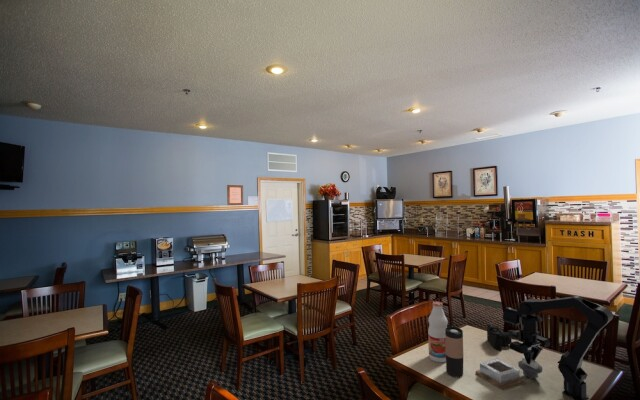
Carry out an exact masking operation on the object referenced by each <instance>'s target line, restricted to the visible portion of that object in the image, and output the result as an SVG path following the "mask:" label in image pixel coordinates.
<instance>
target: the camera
mask: <svg viewBox="0 0 640 400" xmlns="http://www.w3.org/2000/svg"><path fill="white" fill-rule="evenodd" d="M486 327H487V330H486V340H487V342H488V343H489V344H490V346H491V348H493V349H494V350H495V351H498V352H502V350H503V349H502V346H503V345H505V346H509V344H510V343H511V342H513V341H512V340H513V339H512V338H510V337H509V336H508V331H507V332H506V331H504V332H503V331H502V330H501V329H500V328H499V327H498V326H494V324H492V323H488V324H487V326H486Z"/></svg>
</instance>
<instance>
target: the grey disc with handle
mask: <svg viewBox="0 0 640 400" xmlns="http://www.w3.org/2000/svg"><path fill="white" fill-rule="evenodd" d="M521 358H522V359H521V360H519V361H518V362H517V363H518V365H517V367H518V368H519V370H520V369H521V370H522V375H524V376H525V377H527V378H531V379H538V377H539V375H538V374H541V373H543V366H542V365H541V364H540V363H539V361H536V360H535V361H534V360H531V363H530V364H527V362H526V359H525V357H524V356H522V357H521Z"/></svg>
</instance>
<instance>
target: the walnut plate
mask: <svg viewBox="0 0 640 400" xmlns="http://www.w3.org/2000/svg"><path fill="white" fill-rule="evenodd" d="M497 371H499V370H497ZM499 372H501V371H499ZM475 374H476V375H477V376H479V377H481V378H482V379H484V380H485V381H487V382H489V383H491V384H492V385H494V386H495V387H497V388H499V389H500V390H502V391H504V390H507V389H510V388H513V387H517V386H519V385H523V384H525V383H526V382H525V380H524V379H523V378H521V377H520V379H518V380H515V381H512V382H509V383H506V384H502V385H501V384H499V383H497V382H496V381H494V380H492V379H491V378H489V377H487V376H486V375H484V374H482V373H481V372H480V369H477V370H476V371H475Z"/></svg>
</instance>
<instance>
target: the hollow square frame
mask: <svg viewBox="0 0 640 400" xmlns="http://www.w3.org/2000/svg"><path fill="white" fill-rule="evenodd" d="M479 370H480V372H481V373H482V374H484V375H486V376H487V377H489V378H491V379H492V380H494V381H496V382H497V383H499V384H501V385H502V384H506V383H509V382H512V381H515V380H518V379H520V378H521V377H520V368H519V369H518V368H516V367H514V366H513V365H511V364H509V363H507V362H506V361H505V362H504V360H502V359H499V358H496V359H491V360H488V361H483V362H480V363H479ZM497 370H499V371H501V372H499V371H497Z"/></svg>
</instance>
